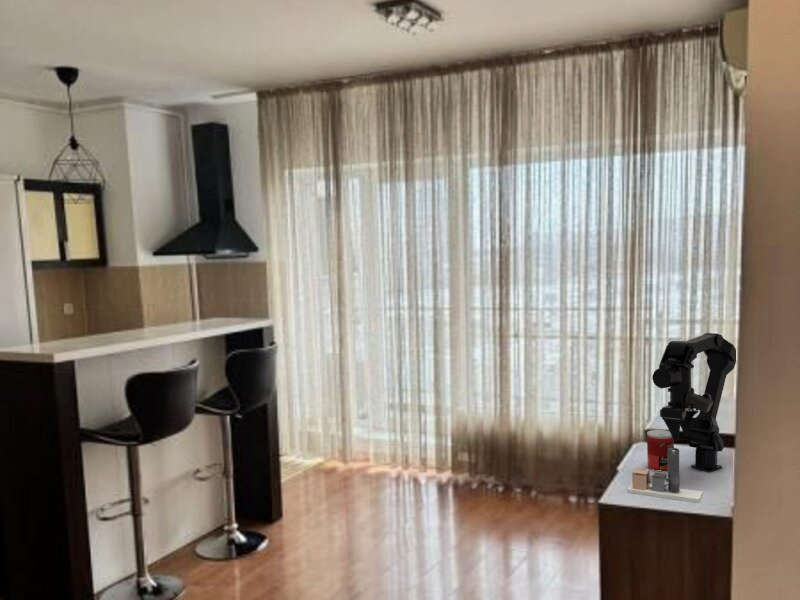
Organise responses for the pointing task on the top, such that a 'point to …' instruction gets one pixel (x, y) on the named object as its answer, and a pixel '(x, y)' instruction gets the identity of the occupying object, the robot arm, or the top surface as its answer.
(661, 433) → the canned food
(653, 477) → the sleeve
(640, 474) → the tan block
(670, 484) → the slide bolt
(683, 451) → the top surface
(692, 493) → the base board
